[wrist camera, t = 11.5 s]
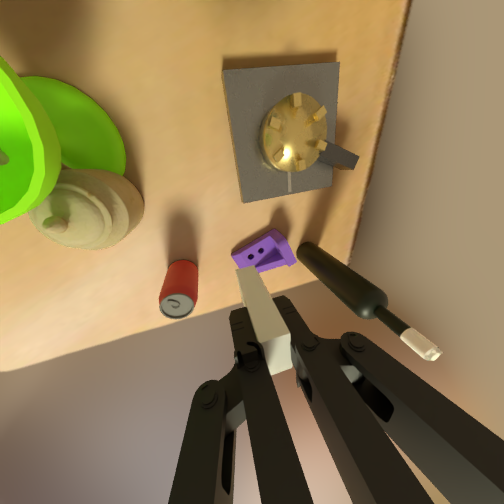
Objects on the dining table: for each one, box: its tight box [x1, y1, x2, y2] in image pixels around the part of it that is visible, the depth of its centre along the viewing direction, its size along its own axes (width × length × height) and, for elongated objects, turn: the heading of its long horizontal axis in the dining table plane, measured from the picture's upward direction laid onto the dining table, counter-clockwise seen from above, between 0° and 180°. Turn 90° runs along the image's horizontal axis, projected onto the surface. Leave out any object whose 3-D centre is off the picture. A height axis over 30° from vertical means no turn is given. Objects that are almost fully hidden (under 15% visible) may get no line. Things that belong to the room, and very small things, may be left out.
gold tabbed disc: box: [259, 92, 359, 172], centre depth 32 cm, size 19×11×5 cm, turn 73°
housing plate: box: [222, 62, 340, 203], centre depth 34 cm, size 20×20×2 cm
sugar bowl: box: [0, 149, 144, 250], centre depth 24 cm, size 15×11×15 cm
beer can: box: [159, 260, 198, 319], centre depth 36 cm, size 7×7×12 cm
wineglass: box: [0, 56, 126, 224], centre depth 20 cm, size 16×16×18 cm
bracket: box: [231, 228, 297, 273], centre depth 41 cm, size 12×7×7 cm, turn 118°
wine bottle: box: [297, 242, 443, 361], centre depth 34 cm, size 6×6×30 cm
